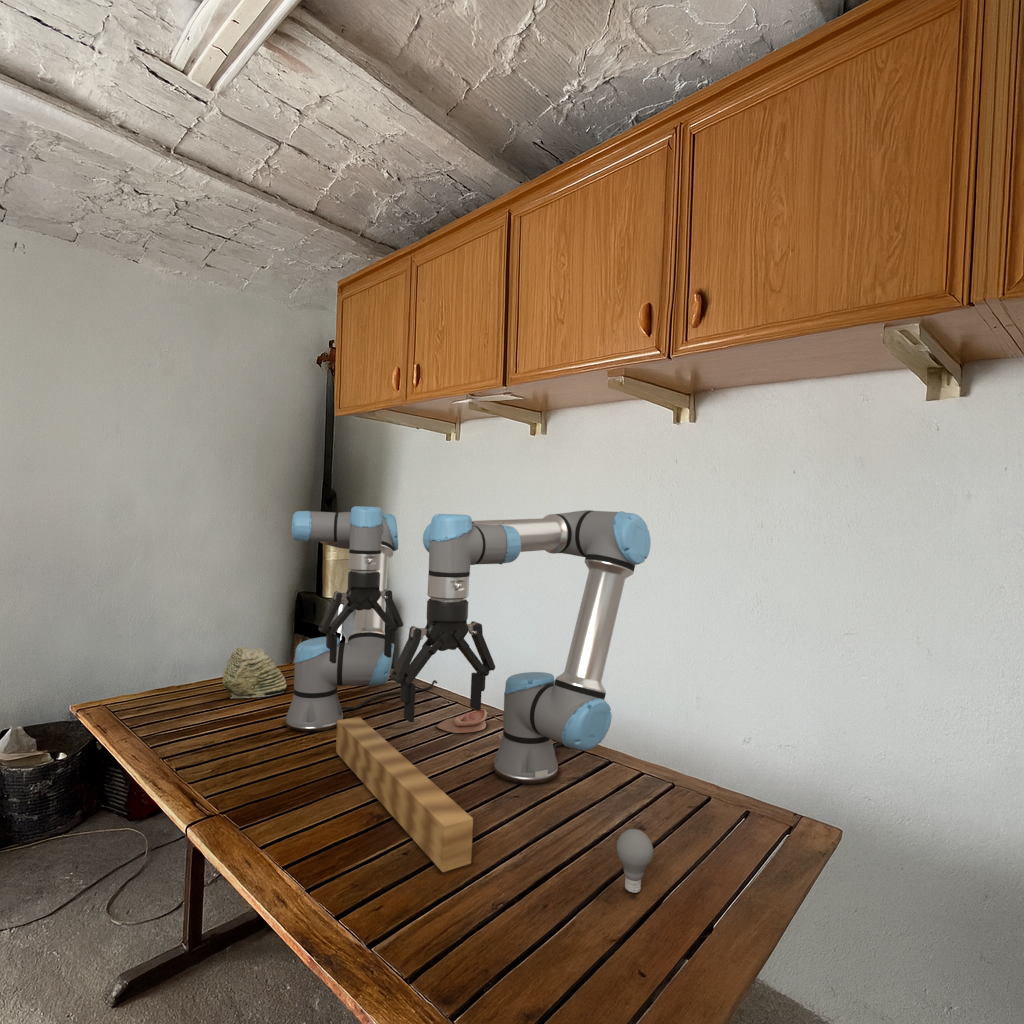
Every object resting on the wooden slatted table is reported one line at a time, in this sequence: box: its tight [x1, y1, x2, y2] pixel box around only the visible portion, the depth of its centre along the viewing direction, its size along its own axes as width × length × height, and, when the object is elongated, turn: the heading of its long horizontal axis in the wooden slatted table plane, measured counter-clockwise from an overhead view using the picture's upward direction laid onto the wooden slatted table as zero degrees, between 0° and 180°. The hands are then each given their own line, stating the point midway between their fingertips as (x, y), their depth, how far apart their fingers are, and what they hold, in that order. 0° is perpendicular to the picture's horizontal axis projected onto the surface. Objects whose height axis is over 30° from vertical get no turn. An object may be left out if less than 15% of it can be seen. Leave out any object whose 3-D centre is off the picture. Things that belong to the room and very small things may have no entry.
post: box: [335, 716, 474, 873], centre depth 134 cm, size 58×6×8 cm, turn 33°
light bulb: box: [615, 828, 654, 894], centre depth 106 cm, size 6×6×10 cm
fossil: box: [222, 646, 288, 699], centre depth 198 cm, size 9×18×15 cm, turn 132°
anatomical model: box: [436, 708, 488, 734], centre depth 178 cm, size 13×4×12 cm
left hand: (360, 659), depth 152 cm, fingers open, 13 cm apart
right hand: (443, 714), depth 116 cm, fingers open, 13 cm apart
